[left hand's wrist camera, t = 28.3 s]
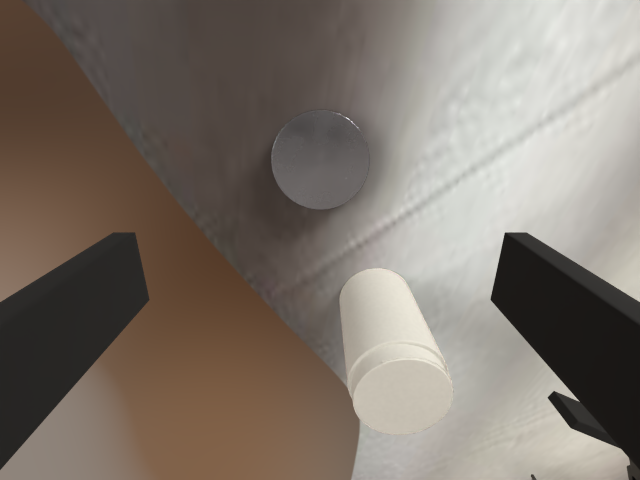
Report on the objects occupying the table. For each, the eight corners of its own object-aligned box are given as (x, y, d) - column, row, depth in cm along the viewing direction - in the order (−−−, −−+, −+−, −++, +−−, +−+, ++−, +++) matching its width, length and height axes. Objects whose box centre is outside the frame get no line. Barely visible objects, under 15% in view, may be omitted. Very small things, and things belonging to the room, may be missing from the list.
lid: (259, 178, 38) (255, 182, 36) (299, 90, 35) (298, 90, 33) (338, 219, 40) (339, 225, 38) (384, 139, 36) (388, 141, 34)
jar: (417, 318, 45) (466, 423, 30) (351, 337, 46) (366, 447, 31) (400, 258, 42) (445, 343, 27) (329, 280, 43) (335, 373, 28)
